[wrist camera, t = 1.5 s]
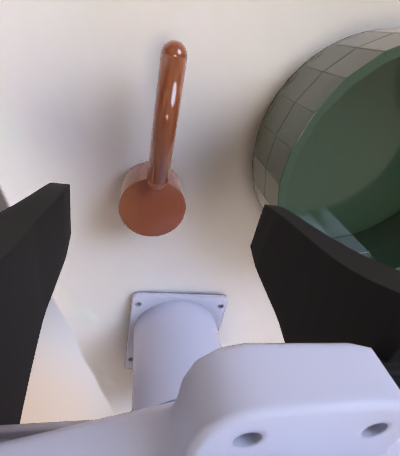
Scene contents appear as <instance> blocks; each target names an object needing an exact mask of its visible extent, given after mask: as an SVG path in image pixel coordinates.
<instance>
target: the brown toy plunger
mask: <svg viewBox="0 0 400 456" xmlns="http://www.w3.org/2000/svg"><path fill="white" fill-rule="evenodd" d="M186 62H187V51H186V48H185V47H184V45H183V44H182V43H181V42H179V41H176V40H171V41H168V42H167V43H166V44H165V45H164V46H163V48H162V50H161V57H160V66H159V75H158V83H157V92H156V101H155V110H154V119H153V128H152V136H151V145H150V154H149V162H146V163H141V164H138V165H136V166H134V167H133V168H131V169H130V170H129V171H128V172H127V173H126V175H125V176H124V178H123V180H122V183H121V191H120V199H119V213H120V217H121V219H122V221H123V222H124V224H125V225H126V226H127V227H128V228H129V229H131V230H132V231H134V232H136V233H138V234H141V235H144V236H159V235H163V234H166V233H168V232H170V231H172V230H173V229H175V228H176V227H177V226H178V225H179V224H180V222H181V221H182V219H183V217H184V214H185V209H186V204H185V199H184V195H183V191H182V187H181V183H180V180H179V178H178V176H177V175H176V173H175V172H174V171H173V170H172V169H171V161H172V155H173V148H174V141H175V135H176V128H177V121H178V115H179V108H180V102H181V95H182V88H183V82H184V75H185V68H186Z"/></svg>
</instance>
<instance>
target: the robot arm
mask: <svg viewBox="0 0 400 456" xmlns="http://www.w3.org/2000/svg"><path fill="white" fill-rule="evenodd" d="M70 236H71V219H70V185H69V184H59V183H49V184H47V185H45V186H44V187H42V188H41V189H39V190H38V191H36V192H34V193H33V194H31V195H30V196H28V197H26V198H25V199H23V200H21V201H20V202H18V203H16V204H15V205H13V206H11V207H9V208H7V209H5V210H4V211H2V212H0V456H400V271H399V270H396V269H394V268H391V267H389V266H386V265H384V264H382V263H379V262H377V261H375V260H373V259H370V258H368V257H366V256H364V255H362V254H360V253H358V252H356V251H354V250H352V249H350V248H348V247H347V246H345V245H343V244H341V243H340V242H338V241H336V240H334V239H333V238H331V237H329V236H328V235H326V234H324V233H323V232H321V231H320V230H318V229H317V228H315V227H313V226H312V225H310V224H309V223H307V222H306V221H304V220H303V219H301V218H300V217H298V216H297V215H295V214H293V213H292V212H290V211H288V210H287V209H285V208H283V207H281V206H276V205H266V204H265V205H264V208H263V211H262V214H261V216H260V219H259V222H258V225H257V228H256V231H255V234H254V237H253V240H252V243H251V246H250V247H251V251H252V255H253V259H254V263H255V267H256V269H257V272H258V274H259V277H260V279H261V281H262V284H263V286H264V288H265V291H266V293H267V295H268V297H269V300H270V302H271V304H272V307H273V309H274V311H275V314H276V316H277V319H278V322H279V325H280V328H281V331H282V334H283V338H284V341H285V343H243V344H238V345H232V346H226V347H221V343H220V339H219V335H218V330H219V327H220V324H221V321H222V317H223V314H224V311H225V308H226V305H227V297H226V296H225V295H206V294H176V293H146V292H137V293H135V294H133V296H132V304H131V313H130V322H129V331H128V340H127V349H126V358H125V367H126V368H127V369H133V387H132V411H131V412H127V413H123V414H118V415H114V416H110V417H106V418H102V419H97V420H83V421H66V422H48V423H30V424H20V419H21V414H22V409H23V405H24V400H25V396H26V391H27V386H28V382H29V377H30V372H31V368H32V364H33V360H34V355H35V351H36V347H37V343H38V338H39V334H40V330H41V326H42V322H43V318H44V315H45V312H46V309H47V306H48V303H49V301H50V298H51V296H52V293H53V290H54V288H55V285H56V283H57V280H58V277H59V275H60V272H61V269H62V266H63V264H64V261H65V258H66V254H67V250H68V245H69V240H70ZM136 302H140V303H136ZM220 304H222V305H220Z"/></svg>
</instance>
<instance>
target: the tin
mask: <svg viewBox="0 0 400 456" xmlns="http://www.w3.org/2000/svg"><path fill="white" fill-rule="evenodd" d="M252 168H253V181H254V186H255V191H256V194H257V196H258V199H259V202H260V204H261V206H262V208H264V205H265V204H266V205H276V206H281V207H283V208H285V209H287V210H288V211H290V212H292V213H293V214H295V215H297V216H298V217H300V218H301V219H303V220H304V221H306V222H307V223H309V224H310V225H312V226H313V227H315V228H317V229H318V230H320V231H321V232H323V233H324V234H326V235H328V236H329V237H331V238H333V239H334V240H336V241H338V242H340V243H341V244H343V245H345V246H347V247H348V248H350V249H352V250H354V251H356V252H358V253H360V254H362V255H364V256H366V257H368V258H370V259H373V260H375V261H377V262H379V263H382V264H384V265H386V266H389V267H391V268H394V269H396V270H399V271H400V28H396V29H378V30H372V31H366V32H362V33H359V34H356V35H353V36H350V37H347V38H345V39H343V40H341V41H339V42H336V43H334V44H332V45H330V46H329V47H327V48H326V49H324V50H323V51H321V52H320V53H318V54H316V55H315V56H314V57H313V58H311V59H310V60H309V61H308V62H307V63H305V64H304V65H303V66H302V67H301V68H300V69H299V70H298V71H297V72H296V73H295V74H294V75H293V76H292V77H291V78H290V79H289V80H288V81H287V83H286V84H285V85H284V86H283V88H282V89H281V90H280V91H279V93H278V94H277V96H276V97H275V99H274V101H273V102H272V104H271V105H270V107H269V109H268V111H267V113H266V115H265V117H264V119H263V121H262V124H261V127H260V129H259V132H258V135H257V138H256V143H255V148H254V153H253V164H252Z"/></svg>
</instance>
